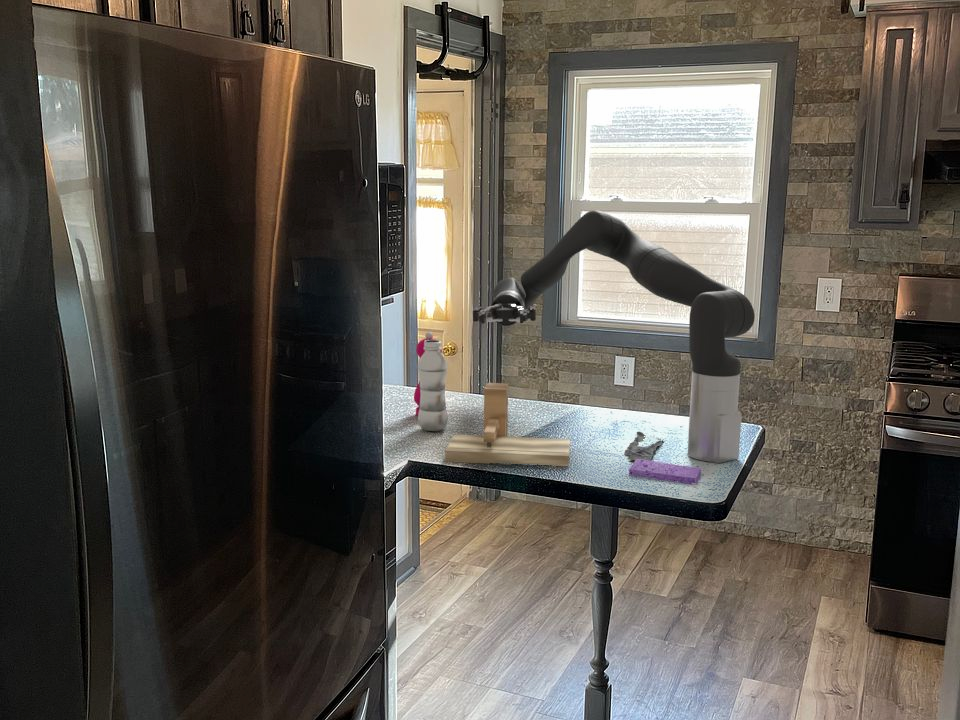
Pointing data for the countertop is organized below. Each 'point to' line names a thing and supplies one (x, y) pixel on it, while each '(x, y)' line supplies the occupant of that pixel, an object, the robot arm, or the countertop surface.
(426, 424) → the plastic bottle
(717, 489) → the countertop surface
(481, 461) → the pine board
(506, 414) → the block
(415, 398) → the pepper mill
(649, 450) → the driftwood
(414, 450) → the countertop surface
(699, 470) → the sponges
